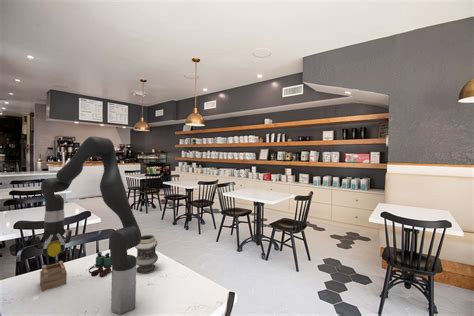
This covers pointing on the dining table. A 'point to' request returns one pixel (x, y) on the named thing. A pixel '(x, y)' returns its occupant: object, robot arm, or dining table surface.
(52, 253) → the lemon
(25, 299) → the dining table surface
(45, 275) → the wooden crate
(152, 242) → the apothecary jar
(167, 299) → the dining table surface
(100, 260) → the binoculars
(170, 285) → the dining table surface
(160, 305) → the dining table surface
